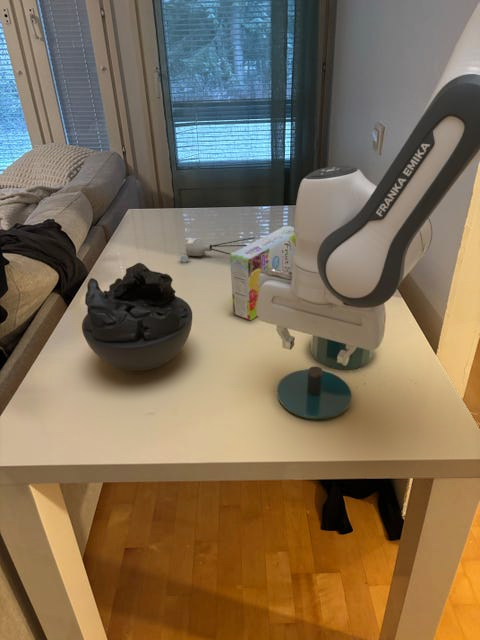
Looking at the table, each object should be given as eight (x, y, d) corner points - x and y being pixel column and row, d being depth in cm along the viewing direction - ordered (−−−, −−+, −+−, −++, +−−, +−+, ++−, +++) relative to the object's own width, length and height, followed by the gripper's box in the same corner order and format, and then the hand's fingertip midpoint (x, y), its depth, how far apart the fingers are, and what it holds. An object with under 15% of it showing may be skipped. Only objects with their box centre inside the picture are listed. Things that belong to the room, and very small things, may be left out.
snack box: (283, 280, 119) (285, 224, 112) (302, 286, 116) (305, 228, 109) (231, 314, 105) (228, 252, 98) (250, 322, 102) (250, 258, 95)
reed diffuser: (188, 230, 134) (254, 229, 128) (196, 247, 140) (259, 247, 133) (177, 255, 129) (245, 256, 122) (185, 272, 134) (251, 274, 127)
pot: (377, 344, 94) (383, 307, 89) (361, 376, 85) (367, 337, 81) (323, 330, 99) (326, 295, 94) (302, 359, 90) (304, 322, 86)
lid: (359, 386, 83) (363, 360, 80) (336, 431, 73) (340, 404, 70) (294, 366, 88) (295, 342, 85) (265, 407, 79) (265, 381, 76)
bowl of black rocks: (205, 335, 98) (198, 252, 88) (182, 398, 81) (171, 303, 71) (114, 330, 101) (98, 249, 91) (74, 390, 84) (49, 298, 74)
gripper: (249, 273, 71) (249, 347, 78) (384, 303, 63) (370, 383, 70) (267, 258, 76) (265, 329, 83) (395, 284, 67) (381, 361, 74)
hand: (314, 354), depth 76 cm, fingers open, 8 cm apart
